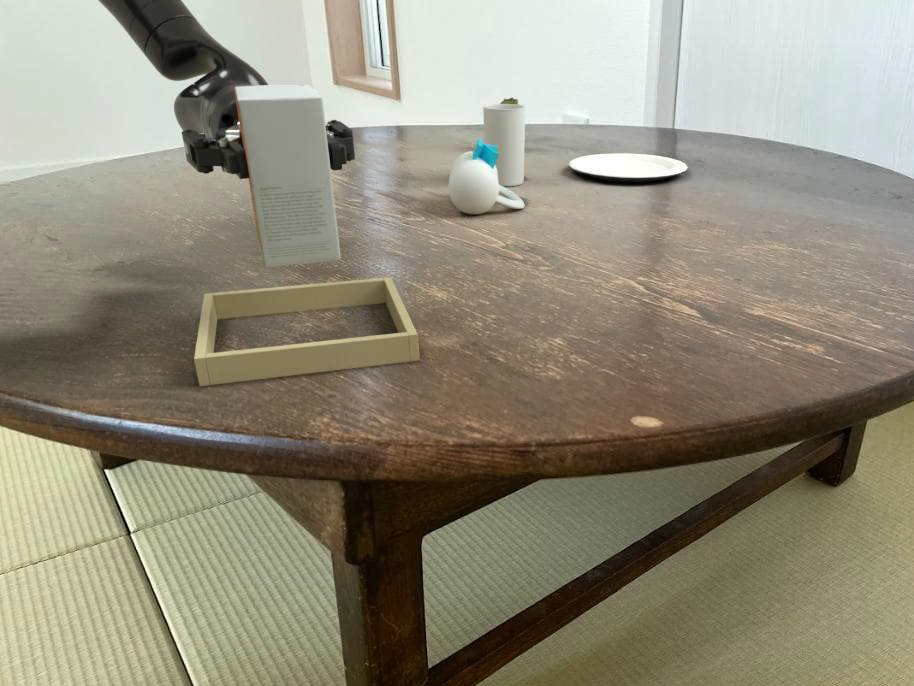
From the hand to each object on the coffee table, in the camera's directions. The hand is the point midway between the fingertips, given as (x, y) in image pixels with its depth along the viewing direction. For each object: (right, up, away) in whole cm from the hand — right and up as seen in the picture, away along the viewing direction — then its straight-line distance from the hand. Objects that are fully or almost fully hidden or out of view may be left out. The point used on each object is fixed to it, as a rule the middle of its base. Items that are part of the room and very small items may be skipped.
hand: (291, 161), depth 63 cm
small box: (-1, -6, +6) cm, 9 cm away
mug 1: (+13, +18, +71) cm, 74 cm away
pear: (+14, +31, +95) cm, 101 cm away
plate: (+35, +21, +77) cm, 88 cm away
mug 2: (+12, +9, +54) cm, 56 cm away
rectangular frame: (-1, -14, +9) cm, 17 cm away
